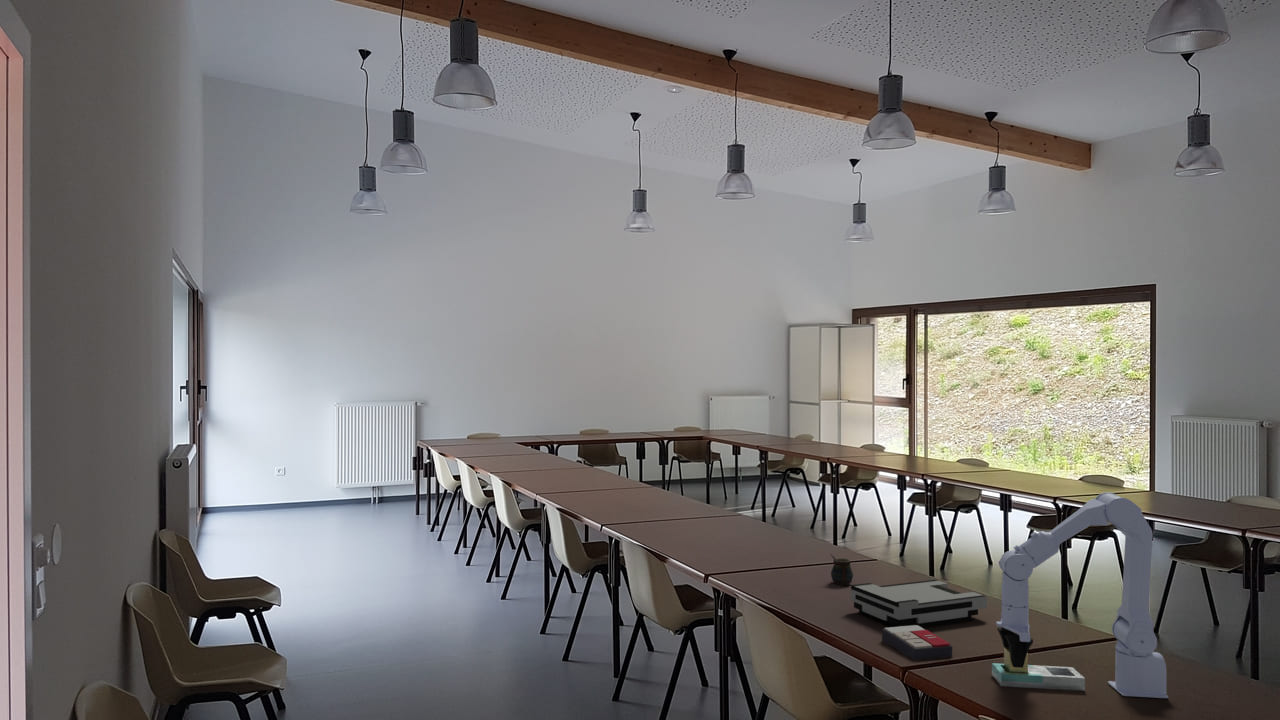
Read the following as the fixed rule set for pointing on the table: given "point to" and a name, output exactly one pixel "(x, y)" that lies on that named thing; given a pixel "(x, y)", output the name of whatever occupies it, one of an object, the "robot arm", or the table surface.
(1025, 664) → the nut
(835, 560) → the mate gourd
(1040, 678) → the white teal tray block
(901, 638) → the calculator
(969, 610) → the game console
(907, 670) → the table surface
